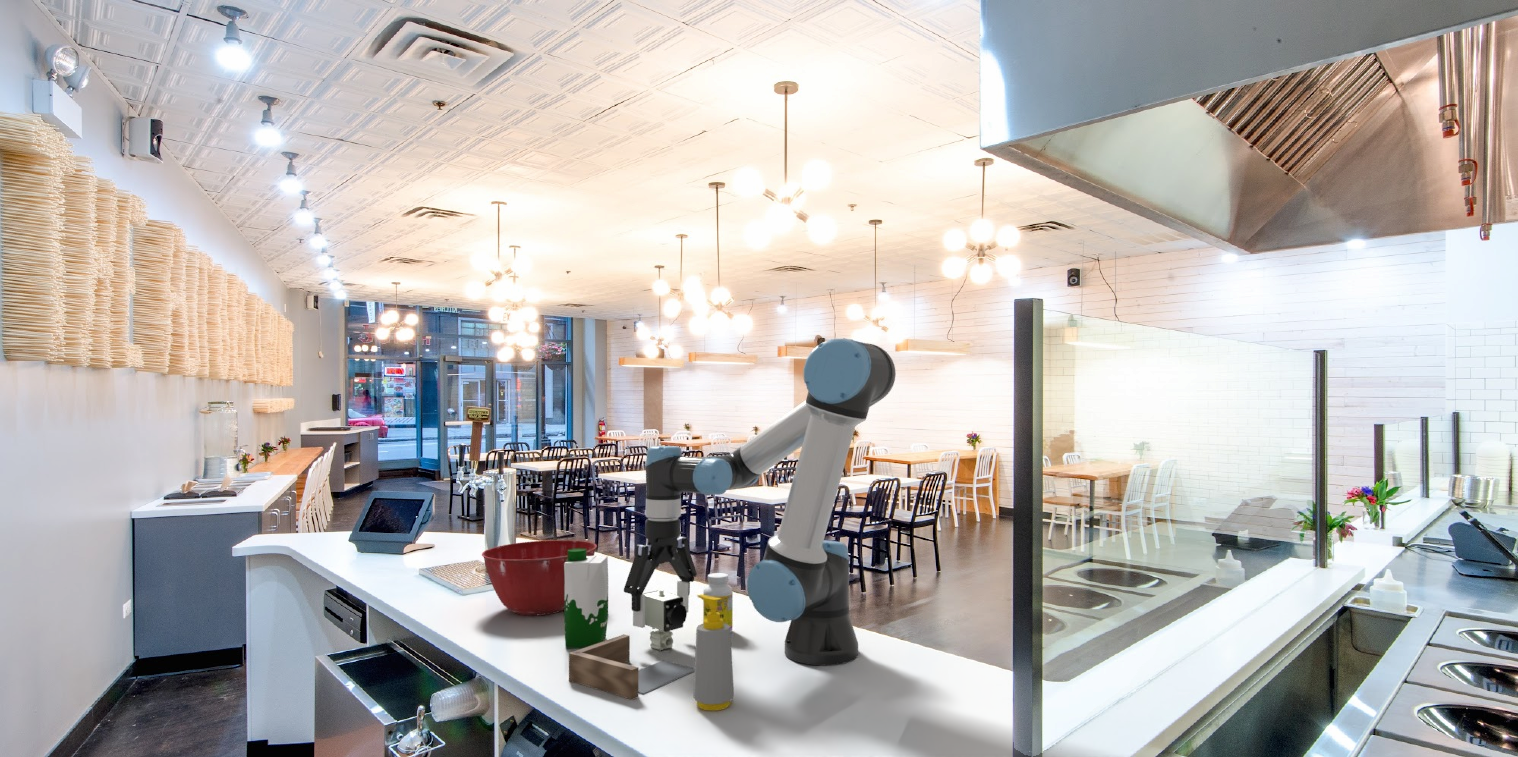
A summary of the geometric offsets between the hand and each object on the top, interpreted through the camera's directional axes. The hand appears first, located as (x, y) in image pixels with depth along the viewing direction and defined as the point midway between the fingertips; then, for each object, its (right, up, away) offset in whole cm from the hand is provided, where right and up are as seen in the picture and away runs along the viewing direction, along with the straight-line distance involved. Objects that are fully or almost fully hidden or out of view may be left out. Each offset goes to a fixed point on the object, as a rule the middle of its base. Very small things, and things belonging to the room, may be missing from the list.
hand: (661, 618), depth 154 cm
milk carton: (-17, -6, +3) cm, 18 cm away
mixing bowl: (-35, -8, +32) cm, 48 cm away
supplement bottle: (+11, -7, +10) cm, 17 cm away
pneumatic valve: (0, -6, -1) cm, 6 cm away
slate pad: (+1, -5, -18) cm, 19 cm away
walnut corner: (-4, -5, -19) cm, 20 cm away
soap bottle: (+13, -4, -31) cm, 34 cm away
